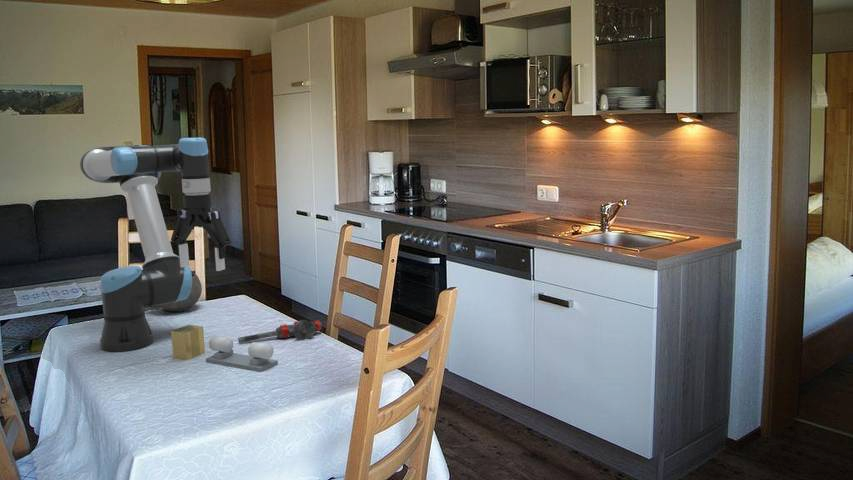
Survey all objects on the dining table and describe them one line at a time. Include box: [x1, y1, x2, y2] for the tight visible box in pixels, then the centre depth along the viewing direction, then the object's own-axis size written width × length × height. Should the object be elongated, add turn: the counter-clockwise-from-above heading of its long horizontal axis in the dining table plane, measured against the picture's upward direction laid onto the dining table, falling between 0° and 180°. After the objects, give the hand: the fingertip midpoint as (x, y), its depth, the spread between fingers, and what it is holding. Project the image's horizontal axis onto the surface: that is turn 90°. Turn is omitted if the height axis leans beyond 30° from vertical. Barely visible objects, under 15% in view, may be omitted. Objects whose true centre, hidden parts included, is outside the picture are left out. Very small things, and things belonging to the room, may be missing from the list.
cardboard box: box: [170, 324, 206, 361], centre depth 214 cm, size 7×6×8 cm
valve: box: [237, 319, 323, 343], centre depth 231 cm, size 6×26×15 cm
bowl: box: [156, 271, 203, 313], centre depth 266 cm, size 18×18×13 cm
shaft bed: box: [205, 335, 279, 373], centre depth 206 cm, size 20×7×6 cm, turn 62°
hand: (202, 268), depth 209 cm, fingers open, 13 cm apart
